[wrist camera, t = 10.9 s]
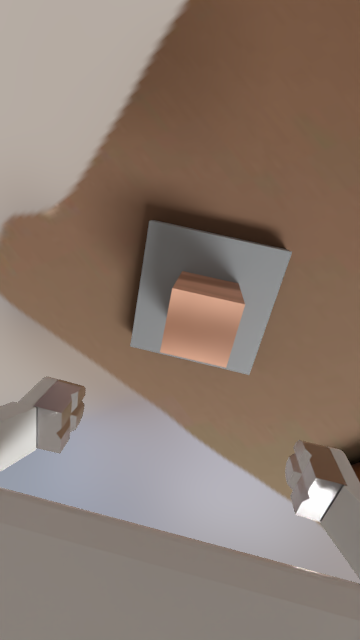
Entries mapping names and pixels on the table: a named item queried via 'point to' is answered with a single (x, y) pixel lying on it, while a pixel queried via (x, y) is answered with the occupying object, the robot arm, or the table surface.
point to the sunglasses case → (356, 470)
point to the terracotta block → (202, 319)
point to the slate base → (212, 261)
